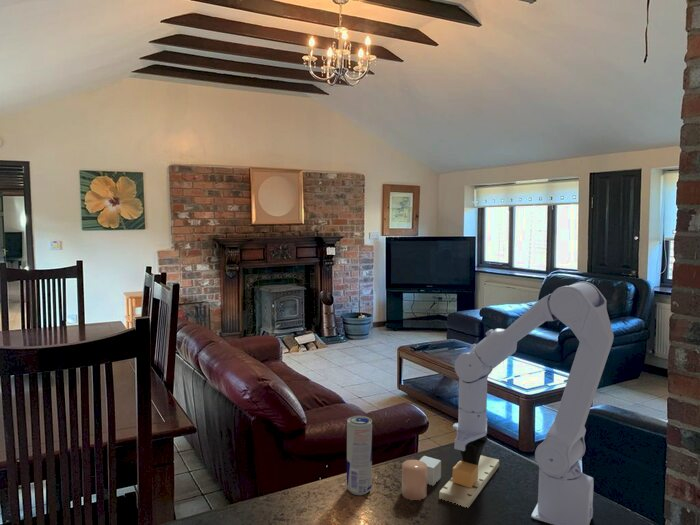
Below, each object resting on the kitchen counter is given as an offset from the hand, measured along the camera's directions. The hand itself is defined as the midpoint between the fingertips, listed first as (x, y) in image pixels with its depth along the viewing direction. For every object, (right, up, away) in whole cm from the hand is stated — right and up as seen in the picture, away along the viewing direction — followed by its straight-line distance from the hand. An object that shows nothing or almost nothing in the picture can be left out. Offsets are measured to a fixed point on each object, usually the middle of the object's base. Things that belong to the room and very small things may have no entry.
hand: (470, 470), depth 109 cm
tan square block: (-2, -1, -3) cm, 3 cm away
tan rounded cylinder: (-12, -3, -4) cm, 14 cm away
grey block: (-9, -3, +1) cm, 9 cm away
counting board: (0, -3, +1) cm, 3 cm away
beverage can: (-24, -3, -3) cm, 24 cm away
